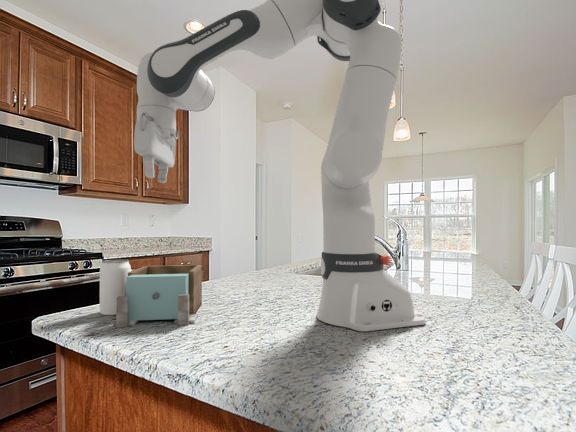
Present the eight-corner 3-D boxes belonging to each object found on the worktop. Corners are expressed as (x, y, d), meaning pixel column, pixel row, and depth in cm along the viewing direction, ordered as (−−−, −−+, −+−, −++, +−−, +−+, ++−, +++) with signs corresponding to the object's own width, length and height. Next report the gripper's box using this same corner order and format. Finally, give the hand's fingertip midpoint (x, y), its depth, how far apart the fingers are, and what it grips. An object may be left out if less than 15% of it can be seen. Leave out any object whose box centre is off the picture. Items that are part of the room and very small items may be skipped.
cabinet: (205, 303, 83) (205, 264, 83) (193, 324, 66) (193, 275, 66) (140, 305, 81) (140, 265, 81) (111, 327, 65) (111, 277, 65)
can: (117, 316, 72) (117, 262, 72) (92, 315, 73) (93, 262, 74) (136, 309, 78) (136, 259, 79) (113, 307, 80) (113, 259, 80)
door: (188, 314, 71) (188, 273, 71) (184, 319, 67) (184, 276, 68) (131, 316, 70) (132, 274, 70) (124, 322, 66) (124, 278, 66)
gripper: (157, 109, 68) (156, 174, 68) (179, 134, 89) (179, 185, 89) (126, 108, 68) (125, 173, 68) (155, 134, 88) (155, 184, 88)
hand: (156, 180), depth 78 cm, fingers open, 8 cm apart
